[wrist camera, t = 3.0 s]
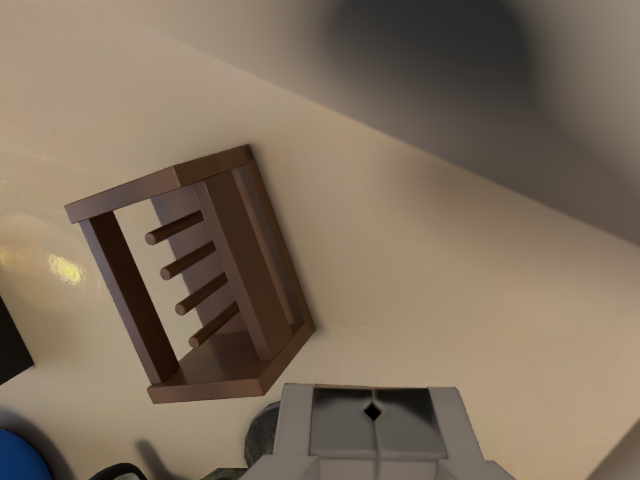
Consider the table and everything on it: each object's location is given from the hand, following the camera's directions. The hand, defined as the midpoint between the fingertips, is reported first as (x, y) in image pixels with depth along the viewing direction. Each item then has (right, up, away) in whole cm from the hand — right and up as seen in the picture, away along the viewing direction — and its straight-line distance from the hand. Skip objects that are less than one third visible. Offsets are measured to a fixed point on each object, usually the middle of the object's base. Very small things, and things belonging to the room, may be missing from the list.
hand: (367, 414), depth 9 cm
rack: (-7, +2, +27) cm, 28 cm away
